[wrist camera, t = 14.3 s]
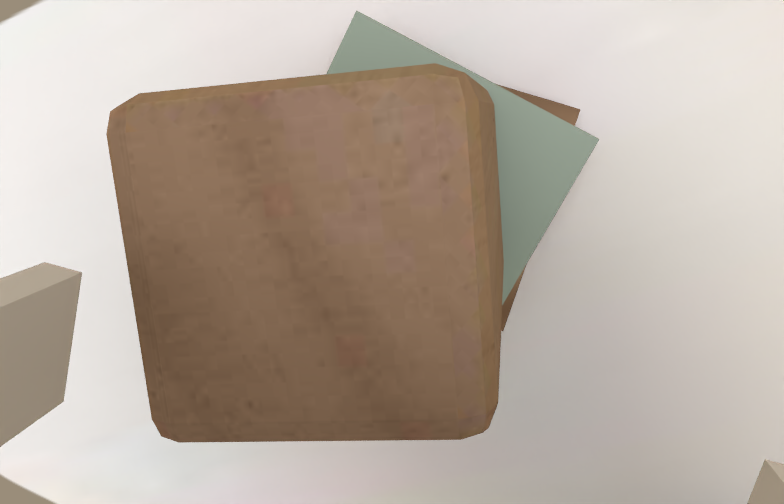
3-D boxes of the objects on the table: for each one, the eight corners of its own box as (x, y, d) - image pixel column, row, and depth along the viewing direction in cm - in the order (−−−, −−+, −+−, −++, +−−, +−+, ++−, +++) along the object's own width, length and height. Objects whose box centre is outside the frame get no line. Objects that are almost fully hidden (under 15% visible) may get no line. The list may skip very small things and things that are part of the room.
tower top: (468, 336, 44) (467, 365, 40) (270, 231, 45) (245, 246, 40) (585, 135, 41) (599, 139, 36) (371, 21, 41) (356, 10, 36)
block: (322, 286, 40) (142, 457, 20) (302, 102, 38) (83, 96, 18) (505, 277, 38) (499, 454, 18) (493, 84, 36) (473, 56, 17)
